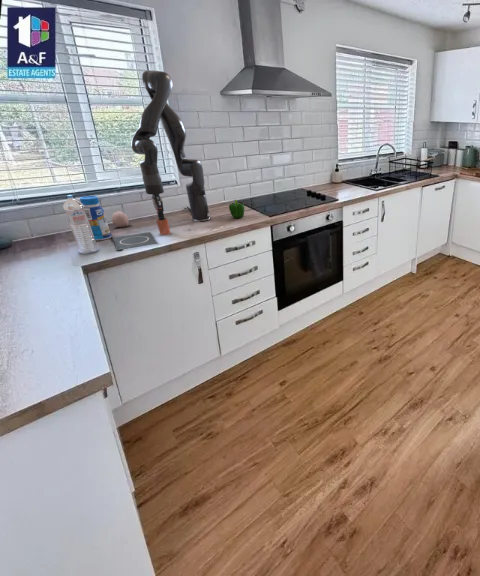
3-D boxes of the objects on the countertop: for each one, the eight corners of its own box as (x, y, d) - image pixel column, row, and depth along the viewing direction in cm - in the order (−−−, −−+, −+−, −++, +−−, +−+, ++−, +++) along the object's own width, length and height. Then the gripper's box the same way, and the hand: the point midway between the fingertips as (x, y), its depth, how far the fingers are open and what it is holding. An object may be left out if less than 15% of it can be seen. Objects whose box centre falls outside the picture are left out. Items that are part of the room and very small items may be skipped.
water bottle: (78, 255, 160) (57, 197, 149) (81, 250, 166) (61, 194, 155) (97, 253, 163) (78, 196, 152) (99, 248, 169) (81, 193, 157)
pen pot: (159, 233, 188) (155, 218, 185) (169, 232, 191) (166, 217, 188) (161, 236, 185) (157, 221, 182) (171, 234, 188) (168, 219, 184)
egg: (133, 225, 200) (128, 209, 196) (125, 229, 193) (120, 213, 190) (119, 224, 199) (114, 209, 196) (111, 228, 193) (106, 213, 189)
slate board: (112, 238, 180) (112, 237, 180) (150, 233, 189) (149, 231, 189) (117, 251, 166) (117, 249, 166) (157, 244, 175) (157, 242, 175)
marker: (162, 233, 188) (155, 208, 182) (167, 232, 189) (161, 207, 184) (163, 234, 186) (156, 209, 180) (168, 233, 188) (162, 208, 182)
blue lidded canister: (89, 237, 180) (75, 196, 171) (109, 234, 186) (97, 194, 177) (93, 242, 175) (79, 200, 166) (114, 238, 181) (101, 197, 172)
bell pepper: (242, 219, 215) (240, 202, 211) (228, 218, 215) (226, 201, 211) (247, 215, 223) (245, 198, 218) (234, 214, 223) (231, 198, 218)
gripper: (164, 184, 174) (172, 220, 182) (158, 180, 184) (166, 214, 191) (146, 186, 170) (155, 222, 177) (141, 181, 179) (150, 216, 187)
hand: (161, 218), depth 184 cm, fingers closed on marker, 2 cm apart
